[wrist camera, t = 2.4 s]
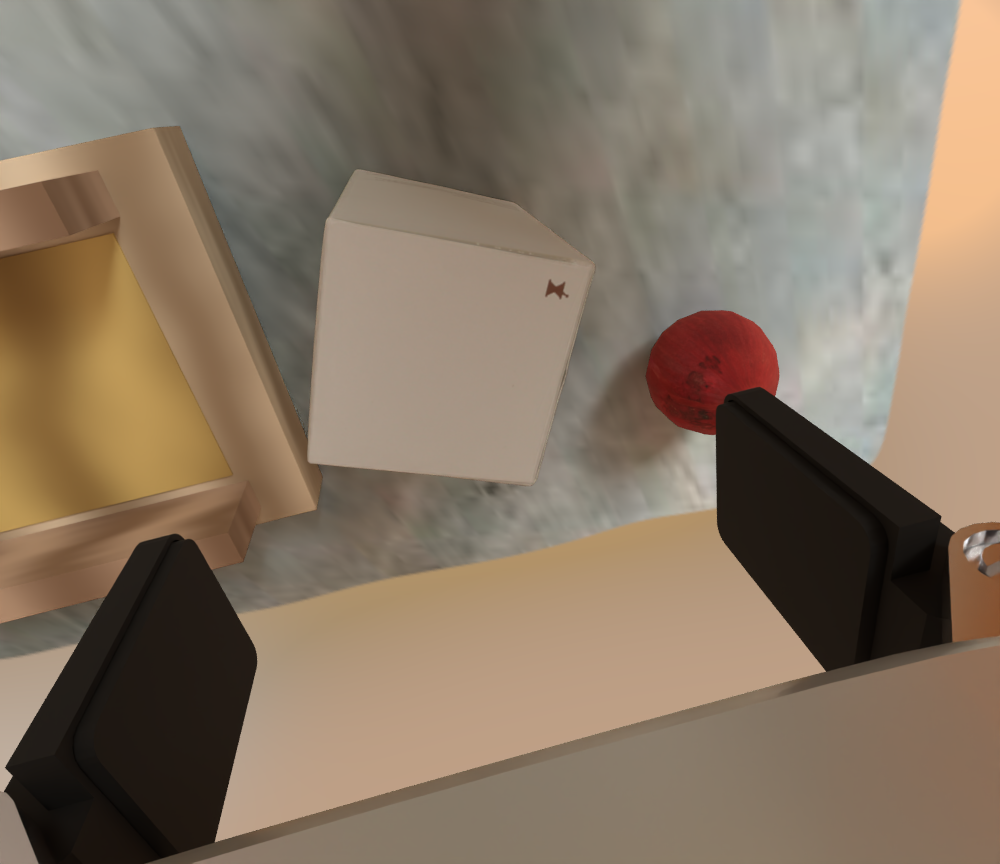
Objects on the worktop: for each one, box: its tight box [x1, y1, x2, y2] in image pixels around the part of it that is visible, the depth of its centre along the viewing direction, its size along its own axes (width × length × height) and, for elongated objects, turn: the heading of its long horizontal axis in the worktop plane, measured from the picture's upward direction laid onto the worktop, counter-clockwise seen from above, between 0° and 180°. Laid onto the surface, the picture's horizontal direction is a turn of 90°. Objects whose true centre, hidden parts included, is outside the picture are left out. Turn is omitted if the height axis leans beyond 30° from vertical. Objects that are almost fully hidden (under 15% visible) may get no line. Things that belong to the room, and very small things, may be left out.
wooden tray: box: [0, 126, 323, 623], centre depth 24 cm, size 16×17×7 cm
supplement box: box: [307, 169, 595, 486], centre depth 22 cm, size 7×7×13 cm
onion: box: [646, 310, 779, 435], centre depth 28 cm, size 6×6×8 cm
